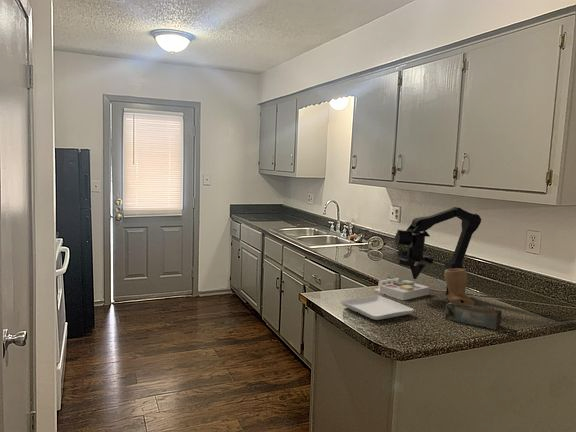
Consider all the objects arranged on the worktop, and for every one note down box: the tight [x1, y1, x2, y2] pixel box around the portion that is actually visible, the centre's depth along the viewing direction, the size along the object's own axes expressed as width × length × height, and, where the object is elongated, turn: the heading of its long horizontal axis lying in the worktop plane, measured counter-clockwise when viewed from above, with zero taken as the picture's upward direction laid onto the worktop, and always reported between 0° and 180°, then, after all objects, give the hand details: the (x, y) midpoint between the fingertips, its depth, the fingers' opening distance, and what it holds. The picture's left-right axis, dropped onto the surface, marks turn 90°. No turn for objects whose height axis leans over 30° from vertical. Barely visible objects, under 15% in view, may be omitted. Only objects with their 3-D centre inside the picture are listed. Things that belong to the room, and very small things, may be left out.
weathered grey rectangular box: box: [444, 301, 503, 331], centre depth 176 cm, size 8×19×7 cm, turn 56°
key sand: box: [400, 285, 414, 291], centre depth 208 cm, size 4×4×2 cm
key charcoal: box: [393, 280, 407, 286], centre depth 214 cm, size 4×4×2 cm
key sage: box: [400, 279, 416, 285], centre depth 218 cm, size 4×4×2 cm
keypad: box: [373, 277, 431, 301], centre depth 214 cm, size 16×20×4 cm
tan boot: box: [443, 268, 475, 306], centre depth 202 cm, size 15×12×15 cm
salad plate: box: [340, 294, 415, 321], centre depth 182 cm, size 21×21×3 cm
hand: (414, 279), depth 211 cm, fingers closed
